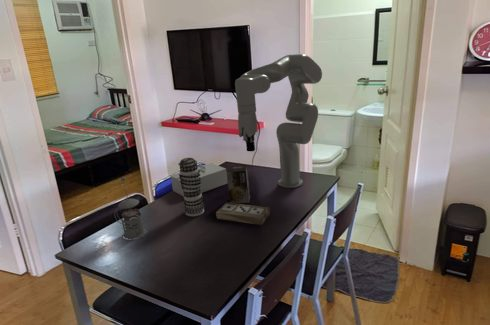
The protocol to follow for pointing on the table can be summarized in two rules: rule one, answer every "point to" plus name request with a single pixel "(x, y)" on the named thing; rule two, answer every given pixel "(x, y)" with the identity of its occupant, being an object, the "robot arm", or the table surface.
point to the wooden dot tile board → (243, 215)
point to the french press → (135, 229)
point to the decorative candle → (191, 187)
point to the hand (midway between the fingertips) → (250, 150)
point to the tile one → (229, 208)
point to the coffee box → (238, 184)
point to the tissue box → (204, 178)
